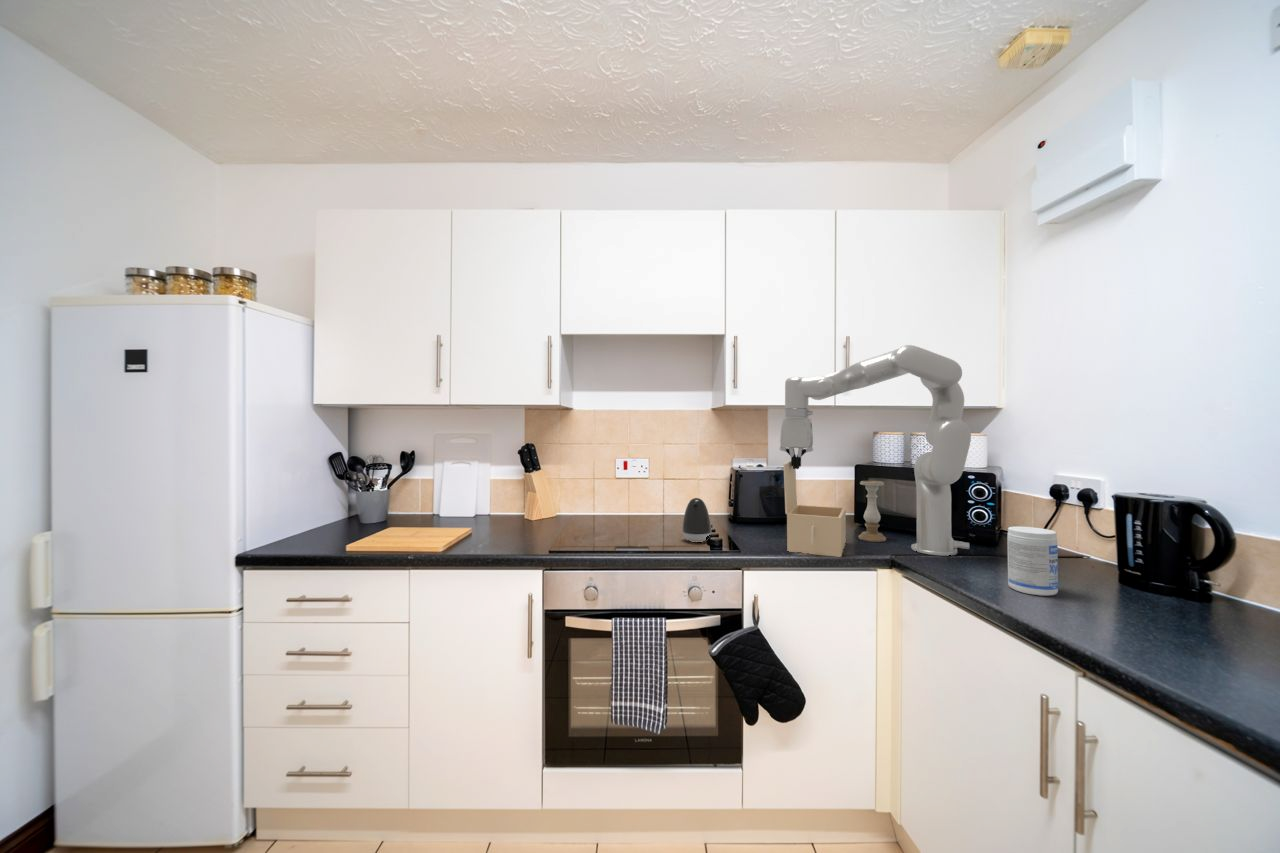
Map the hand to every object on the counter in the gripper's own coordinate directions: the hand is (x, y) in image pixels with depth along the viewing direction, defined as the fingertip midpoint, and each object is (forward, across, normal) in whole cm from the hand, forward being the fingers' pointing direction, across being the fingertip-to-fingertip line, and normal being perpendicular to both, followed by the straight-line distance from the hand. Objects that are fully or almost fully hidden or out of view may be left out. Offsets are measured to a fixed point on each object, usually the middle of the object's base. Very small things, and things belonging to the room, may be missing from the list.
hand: (796, 468), depth 166 cm
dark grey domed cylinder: (+26, +32, +9) cm, 42 cm away
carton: (+26, -7, +2) cm, 27 cm away
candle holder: (+26, -23, -20) cm, 40 cm away
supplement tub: (+25, -59, +23) cm, 68 cm away
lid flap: (+6, +1, 0) cm, 6 cm away
